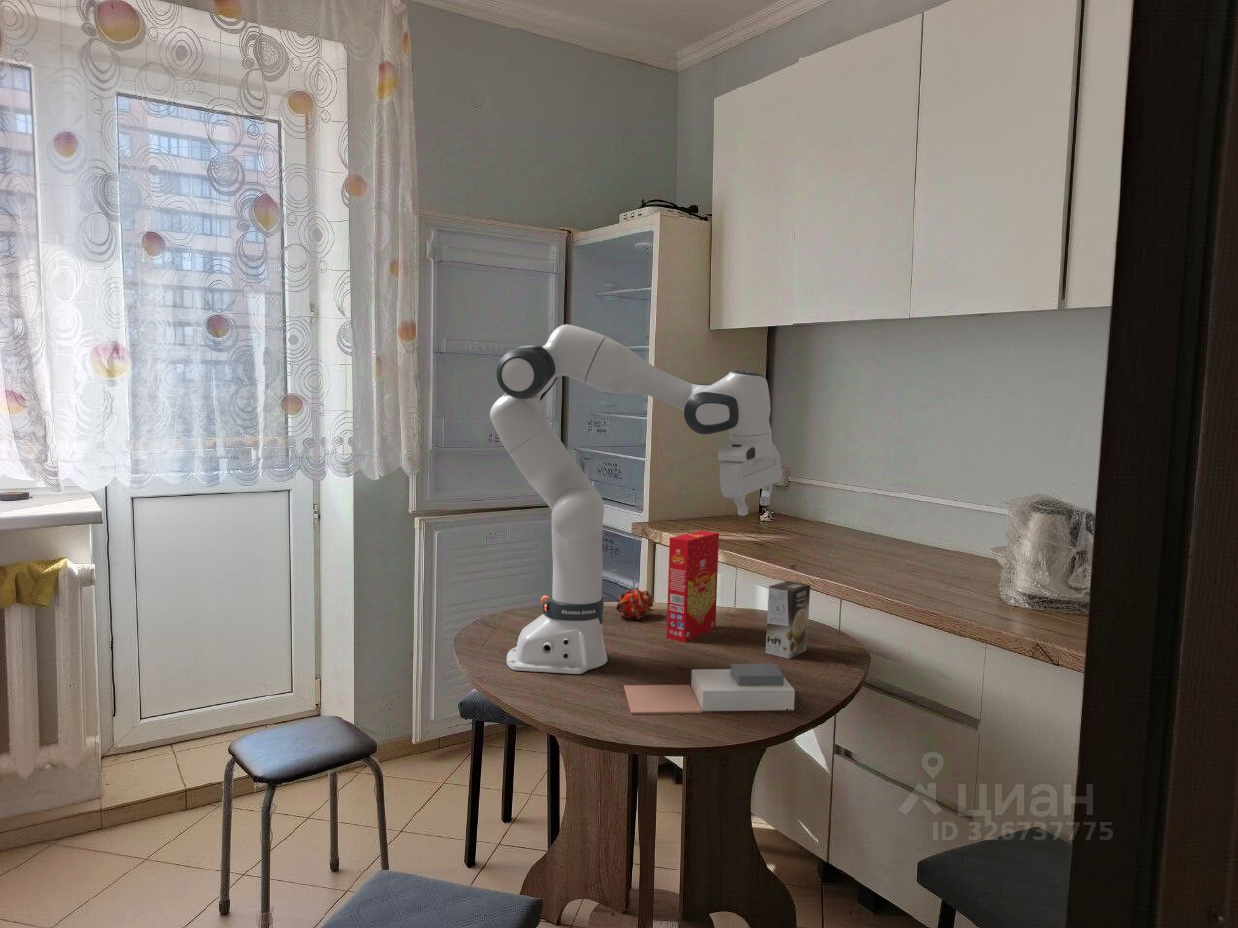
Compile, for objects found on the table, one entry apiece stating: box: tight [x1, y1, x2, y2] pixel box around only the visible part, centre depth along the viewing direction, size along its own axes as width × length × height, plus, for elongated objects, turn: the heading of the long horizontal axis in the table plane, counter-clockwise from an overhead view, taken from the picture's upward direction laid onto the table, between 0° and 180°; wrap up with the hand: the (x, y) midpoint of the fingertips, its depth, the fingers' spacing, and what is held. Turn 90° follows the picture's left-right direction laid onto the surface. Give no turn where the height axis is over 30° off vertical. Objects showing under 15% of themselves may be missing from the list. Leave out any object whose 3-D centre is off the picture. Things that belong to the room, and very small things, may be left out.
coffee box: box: [765, 580, 811, 660], centre depth 196 cm, size 9×6×16 cm
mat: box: [623, 684, 703, 715], centre depth 165 cm, size 14×14×1 cm
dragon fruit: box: [615, 587, 654, 620], centre depth 223 cm, size 8×8×12 cm
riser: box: [690, 668, 796, 712], centre depth 167 cm, size 18×12×4 cm, turn 95°
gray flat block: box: [730, 663, 785, 686], centre depth 167 cm, size 9×7×2 cm
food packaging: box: [666, 530, 720, 643], centre depth 209 cm, size 15×5×25 cm, turn 143°
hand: (754, 509), depth 180 cm, fingers open, 8 cm apart
